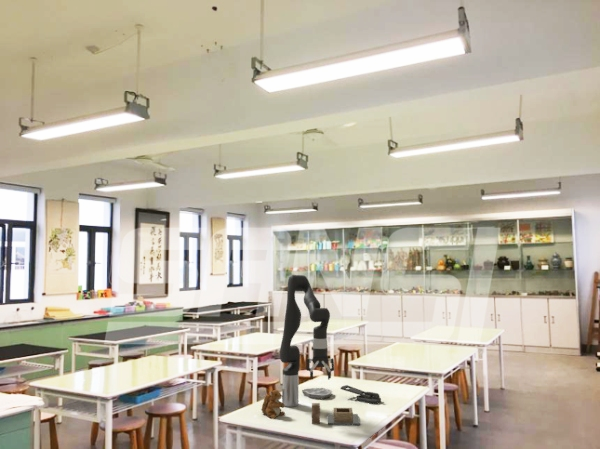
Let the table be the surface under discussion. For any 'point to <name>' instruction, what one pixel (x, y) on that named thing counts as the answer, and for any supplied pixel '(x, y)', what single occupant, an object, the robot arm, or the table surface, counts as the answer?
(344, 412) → the well stand
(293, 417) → the table surface
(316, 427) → the table surface
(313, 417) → the walnut bar
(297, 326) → the robot arm
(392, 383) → the table surface
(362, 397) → the zipper pull
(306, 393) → the brain slice
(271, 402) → the stuffed squirrel
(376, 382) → the table surface
